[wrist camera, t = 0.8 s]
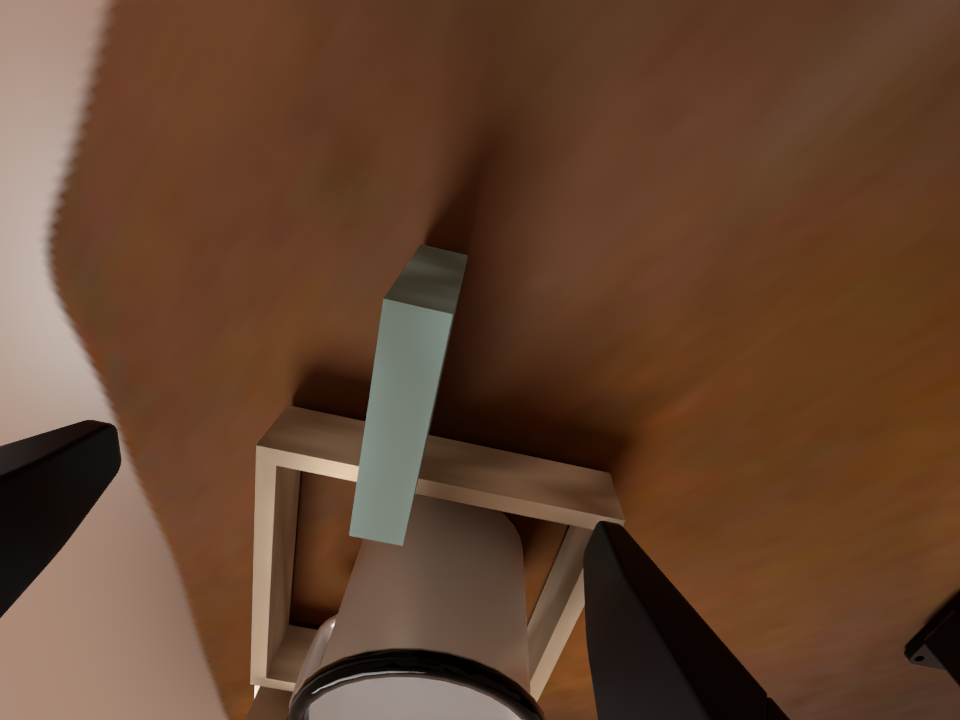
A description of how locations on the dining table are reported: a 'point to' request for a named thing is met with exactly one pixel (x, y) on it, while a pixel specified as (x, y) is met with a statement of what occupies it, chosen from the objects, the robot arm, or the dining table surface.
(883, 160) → the dining table surface
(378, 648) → the mug
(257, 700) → the beige cube
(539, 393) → the dining table surface
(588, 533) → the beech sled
